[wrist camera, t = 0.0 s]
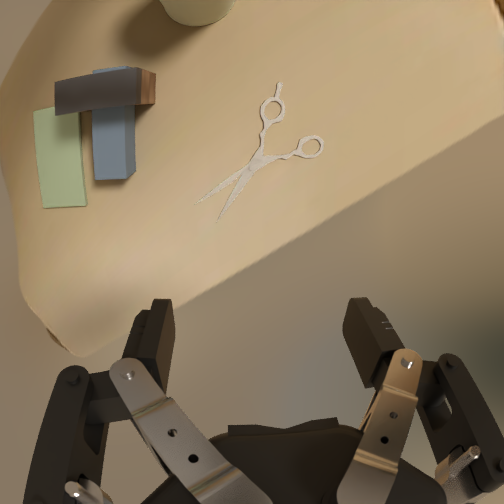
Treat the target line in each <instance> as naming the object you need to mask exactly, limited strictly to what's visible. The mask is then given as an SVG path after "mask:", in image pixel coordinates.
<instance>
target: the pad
mask: <svg viewBox="0 0 504 504" xmlns="http://www.w3.org/2000/svg"><path fill="white" fill-rule="evenodd" d="M33 115H34V135H35V148H36V158H37V167H38V175H39V183H40V189H41V196H42V202H43V207H44V208H53V207H69V206H86V205H87V204H88V203H87V196H86V188H85V179H84V170H83V159H82V145H81V127H80V112H77V113H70V114H64V115H58V116H55V107H50V108H46V109H41V110H37V111H33Z"/></svg>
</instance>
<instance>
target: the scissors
mask: <svg viewBox="0 0 504 504" xmlns="http://www.w3.org/2000/svg"><path fill="white" fill-rule="evenodd" d="M282 85H283V84H282V83H281V82H278V83H277V90H276V93H275V97H270V98H269V99H267V100H265V101H264V103H263V104H262V105H261V109H260V114H261V118H262V119H263V121H264V129H263V130H262V132H261V133H260V137H261V145H260V147H259V148H258V150H257V151H256V152H255V154H254V156H253V157H252V159H251V160H250V162H249V163H248V164H247V165H246V166H244V167H243V168H241V169H240V170H238V171H237V172H235V173H234V174H233V175H231V176H230V177H228V178H227V179H226V180H224V181H223V182H222V183H220V184H219V185H218V186H217V187H215V188H214V189H213V190H212V191H210V192H209V193H208V194H206V195H205V196H204V197H202V198H201V199H200V200H199V201H198V202H197V203H199V202H201V201H202V200H204V199H206V198H208V197H209V196H211V195H213V194H215V193H216V192H218V191H220V190H221V189H223V188H224V187H226V186H227V185H229V184H230V183H232V182H233V181H234V180H235V179H236V178H238V177H239V176H240V175H241V174H242V175H241V177H240V179H239V181H238V182H237V184H236V186H235V188H234V190H233V191H232V193H231V195H230V197H229V199H228V201H227V203H226V205H225V207H224V209H223V211H222V212H221V214H220V216H219V218H218V220H219V219H220V217H221V216H222V215H223V214H224V212H225V211H226V210H227V208H228V207H229V206H230V204H231V203H232V202H233V201H234V199H235V198H236V197H237V195H238V194H239V193H240V192H241V190H242V189H243V188H244V186H245V185H246V184H247V182H248V181H249V179H250V178H251V177H252V175H253V174H254V173H255V171H257V170H259V169H260V168H262V167H263V166H265V165H267V164H268V163H270V162H272V161H274V160H276V159H279V158H283V159H288V158H289V157H290V156H292V155H293V154H294V155H298V156H302V157H304V158H314V157H316V156H318V155H319V154H320V153H321V152H322V151H323V147H324V142H323V140H322V139H321V138H320V137H318V136H315V135H310V136H306V137H304V138H302V139H300V140H299V144H298V147H297V149H296V150H293V151H292V152H291V153H289V154H284V155H266V156H263V150H264V136H265V133H266V130H267V129H268V128H269V127H270V125H271V124H273V123H275V122H280V121H282V119H283V117H284V115H285V105H284V103H283V101H282V100H281V99H280V98H279V95H280V89H281V88H282ZM271 101H277V102H278V103H279V104H280V105H281V107H282V109H281V113H280V114H279V116H278V117H276V118H275V119H270V120H269V119H268V118H267V117H266V116H265V115H264V109H265V107H266V105H267V104H268V103H269V102H271ZM310 139H317V140H318V141H319V143H320V149H319V151H318V152H317V153H315V154H314V155H305V154H304V153H303V152H302V149H301V148H302V146H303V144H304V143H305V142H307V141H308V140H310ZM197 203H196V204H197ZM194 205H195V204H194ZM194 205H193V206H194ZM218 220H217V221H218ZM216 223H217V222H216Z"/></svg>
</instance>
